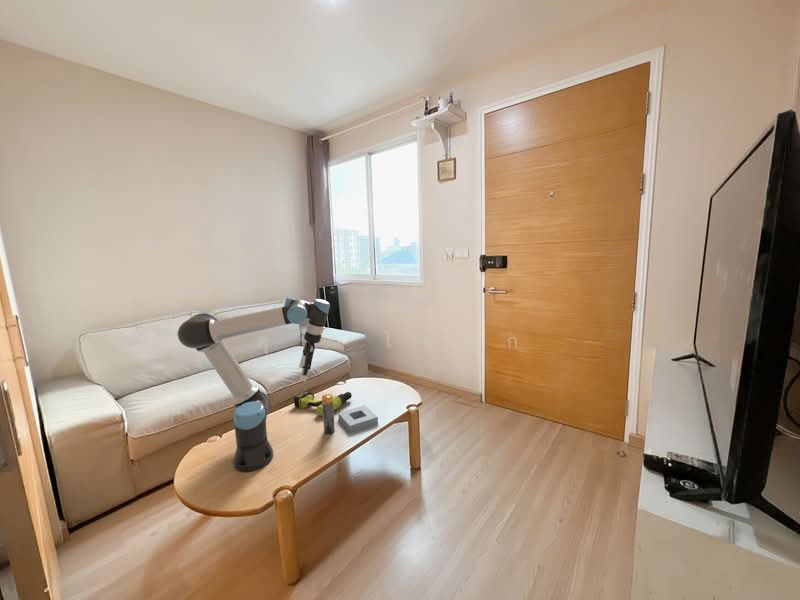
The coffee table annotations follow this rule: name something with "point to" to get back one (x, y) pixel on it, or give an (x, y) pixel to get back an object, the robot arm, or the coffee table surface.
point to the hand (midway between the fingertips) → (302, 374)
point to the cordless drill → (308, 400)
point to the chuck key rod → (328, 414)
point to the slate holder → (359, 423)
